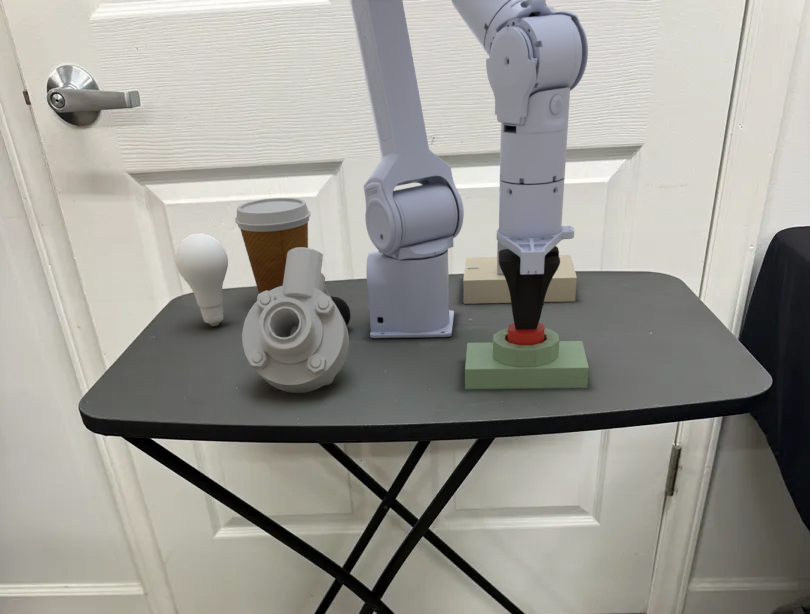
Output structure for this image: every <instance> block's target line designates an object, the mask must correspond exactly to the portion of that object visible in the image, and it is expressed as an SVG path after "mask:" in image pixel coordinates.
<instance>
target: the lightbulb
mask: <svg viewBox="0 0 810 614" xmlns="http://www.w3.org/2000/svg"><path fill="white" fill-rule="evenodd" d="M174 257H175V259H174V260H175V261H174V262H175V265H176V269H177V271H178V274H180V276H181V277H182V279H183V281H185V282H186V284H187V285H188V286H189V287H190V289H191V291H192V293H193V295H194V297H195V300H196V304H197V307H199V309H200V314H201V316H202V320H203V322H204V323H206V324H208V325H210V326H211V327H215V326H218V325H220V323H221V322H223V320H224V317H225V316H224V309H223V303H224V298H223V297H224V296H223V288H224V287H223V286H224V281H225V279H226V275H227V271H228V268H229V258H228V257H229V256H228V254H227V251H226V249H225V247H224V246H223V244H222V243H221V242H220V241H219V240H218V239H217V238H215V237H214V236H213V235H210V234H207V233H202V232H201V233H200V232H197V233H192V234H188V235H187V236H186V237H184V238H183V239H182V240H181V241H180V242H179V244H178V245H177V247H176V251H175V256H174Z"/></svg>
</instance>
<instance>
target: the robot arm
mask: <svg viewBox="0 0 810 614" xmlns="http://www.w3.org/2000/svg"><path fill="white" fill-rule="evenodd" d="M546 2H547V0H451V3H452V6H453V7H454V10H455V11H456V12H457V13H458V15H459V16H460V18H461V19H462V20H463V22H464V23H465V25H466V26H467V27H468V29H469V30H470V32H471V33H472V35H473V36H474V38H475V39H476V40H477V42H478V43H479V45H480V46H481V47H482V48H483V50H484V52H485V53H486V54H487V56H488V57H489V58H486V59H485V68H486V75H487V79H488V83H489V85H490V88H491V90H492V93H493V95H494V115H496V119H497V122H498V123H500V141H499V143H500V145H499V146H500V148H499V194H498V195H499V199H498V201H499V202H498V203H499V204H498V229H496V241H497V243H498V242H499V243H501V244H502V245H504V246H505V247H506V248H508V249H503V250H500V251H499V265H500V268H501V270H502V272H503V274H504V276H505V279H506V281H507V284H508V288H509V292H510V297H511V303H510V304H511V311H512V319H513V323H514V324H515V328H516V329H537V326H538V323H540V319H541V316H542V311H543V309H544V308H543V307H544V303H545V302H544V299H545V296H546V292H547V289H548V287H549V284H550V282H551V280H552V278H553V276H554V274H555V273H556V271H557V269H558V267H559V265H560V258H559V255H560V250H559V247H558V246H557V245H558V244H559V243H560V242H561V241H563V240H571V239H574V238H575V228H574V226H571V225H563V208H564V194H565V193H564V192H565V177H566V165H567V164H566V162H567V145H568V129H569V115H570V100H571V99H570V98H571V96H570V95H571V91H572V90H574V89H575V88H576V87H577V86H578V85H579V83H580V82H581V81H582V78H583V77H584V74H585V71H586V68H587V66H588V65H587V63H588V59H589V58H588V57H589V45H588V44H589V43H588V37H587V35H586V32H585V29H584V27H583V25H582V24H581V21H580V19H579V16H578V14H576V13H574V12H572V11H570V10H560V11H558V10H556V9H555V8H554V7H553V6H548V5H547V3H546ZM349 4H350V10H351V16H352V20H353V25H354V26H353V27H354V30H355V35H356V40H357V46H358V51H359V56H360V61H361V65H362V71H363V76H364V80H365V81H364V82H365V86H366V90H367V91H366V92H367V95H368V101H369V106H370V111H371V115H372V121H373V125H374V130H375V135H376V140H377V145H378V150H379V155H380V161H379V162H378V164H377V165H376V167H375V168H374V170H373V171H372V172H371V174H370V175H369V177H368V178H367V179H366V181H365V183H364V184H363V192H364V200H365V214H364V215H365V219H364V220H365V227H366V231H367V234H368V236H369V239H370V241H371V243H372V244H373V246H374V247H375V248H376V250H378V251H369V253H368V254H367V256H366V257H367V258H366V271H365V272H366V273H365V275H366V290H367V303H368V316H369V327H370V333H369V338H371V339H402V338H404V339H410V338H413V339H414V338H449V337H451V336H452V334H453V328H454V319H455V311H454V310H452V309H451V310H450V282H449V281H450V280H449V279H450V278H449V277H450V276H449V274H450V273H449V249H452V248H454V239H455V238H456V237H457V236H458V235H459V234H460V232H461V230H462V228H463V224H464V215H465V213H464V212H465V210H464V203H463V199H462V196H461V194H460V193H459V190H458V189H457V187H456V184H455V182H454V177H453V172H452V168H451V167H452V166H451V165H449V164H448V162H446V160H445V161H444V160H443V159H442V158H441V157H439V156H438V155H437V154H435V153H434V152H433V151H432V150H431V149H430V147H429V141H428V135H427V129H426V126H425V124H426V123H425V119H424V112H423V107H422V102H421V97H420V90H419V84H418V79H417V73H416V68H415V63H414V57H413V52H412V45H411V40H410V35H409V34H410V33H409V30H408V29H409V28H408V24H407V18H406V13H405V6H404V2H403V0H349ZM413 183H414V184H420V185H417V186H416V185H415V186H411V187H406V188H401V189H396V187H399V186H405V185H409V184H413Z"/></svg>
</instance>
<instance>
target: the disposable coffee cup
mask: <svg viewBox="0 0 810 614" xmlns="http://www.w3.org/2000/svg"><path fill="white" fill-rule="evenodd" d="M310 217H311V211H310V210H309V209H308V205H307V202H306V201H305V200H304V199H301V198H295V197H271V198H262V199H255V200H252V201H247V202H245V203H241V204H240V205H238V206H237V207H236V217H234V222H235V224H237V227H238V228H239V229H240V233H241V236H242V239H243V243H244V247H245V251H246V254H247V257H248V261H249V264H250V267H251V271H252V274H253V278H254V281H255V285H256V288H257V292H258V294H260V293H262V292H263V291H266V290H267V291H270V290H272V289H274V288H276V287H280V286H283V280H284V273H285V266H286V259H287V253H288V251H289V250H291V249H294V248H297V247H305V248H309V221H310Z"/></svg>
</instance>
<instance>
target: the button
mask: <svg viewBox="0 0 810 614" xmlns="http://www.w3.org/2000/svg"><path fill="white" fill-rule="evenodd" d="M507 328H508V342H509V343H512V344H517V345H535V344H539V343H543V342H544V331H545V328H546V327H545V325H544V324H542V323H540V322H539V323H538V326H537V329H516V328H515V324H514V322H513V323H511V324H509V325H508V327H507Z"/></svg>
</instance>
